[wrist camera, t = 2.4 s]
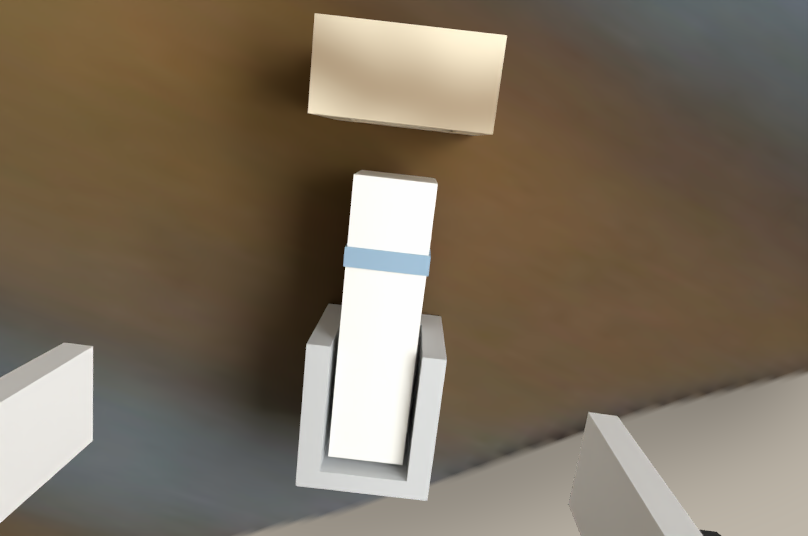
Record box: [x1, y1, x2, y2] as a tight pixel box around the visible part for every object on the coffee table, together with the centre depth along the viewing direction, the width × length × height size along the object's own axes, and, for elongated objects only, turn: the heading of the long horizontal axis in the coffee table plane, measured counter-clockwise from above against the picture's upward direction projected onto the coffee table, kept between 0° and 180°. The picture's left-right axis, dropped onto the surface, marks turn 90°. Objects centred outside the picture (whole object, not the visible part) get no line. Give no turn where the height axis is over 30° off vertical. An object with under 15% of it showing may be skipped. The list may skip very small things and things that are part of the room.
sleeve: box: [296, 304, 447, 501], centre depth 32 cm, size 8×7×7 cm
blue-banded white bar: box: [328, 170, 438, 465], centre depth 30 cm, size 15×4×4 cm, turn 174°
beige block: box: [308, 13, 507, 136], centre depth 27 cm, size 4×8×8 cm, turn 84°
